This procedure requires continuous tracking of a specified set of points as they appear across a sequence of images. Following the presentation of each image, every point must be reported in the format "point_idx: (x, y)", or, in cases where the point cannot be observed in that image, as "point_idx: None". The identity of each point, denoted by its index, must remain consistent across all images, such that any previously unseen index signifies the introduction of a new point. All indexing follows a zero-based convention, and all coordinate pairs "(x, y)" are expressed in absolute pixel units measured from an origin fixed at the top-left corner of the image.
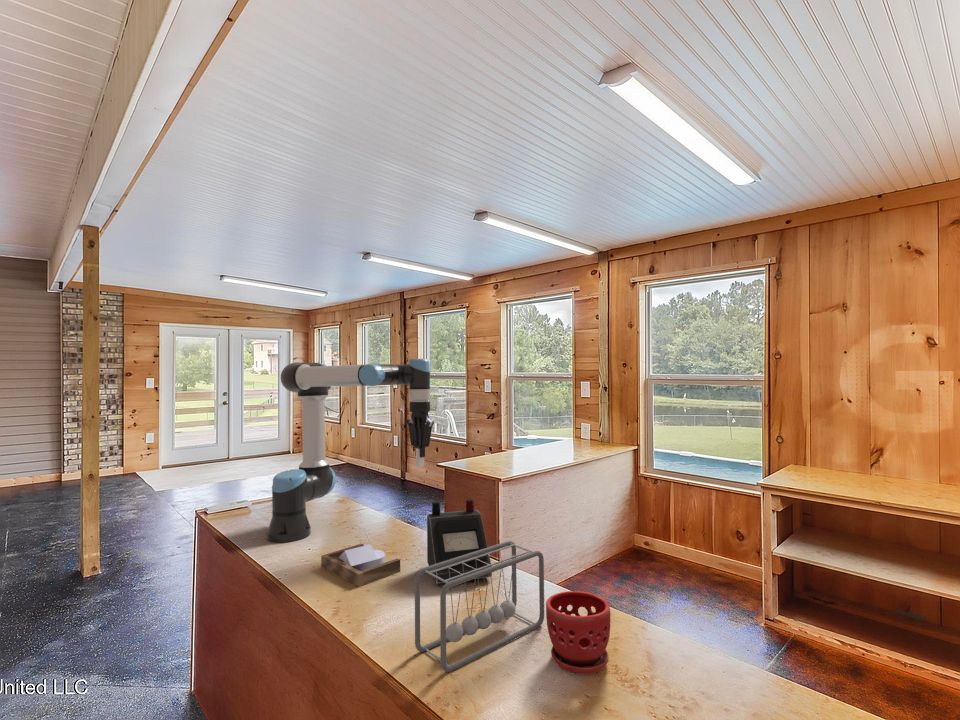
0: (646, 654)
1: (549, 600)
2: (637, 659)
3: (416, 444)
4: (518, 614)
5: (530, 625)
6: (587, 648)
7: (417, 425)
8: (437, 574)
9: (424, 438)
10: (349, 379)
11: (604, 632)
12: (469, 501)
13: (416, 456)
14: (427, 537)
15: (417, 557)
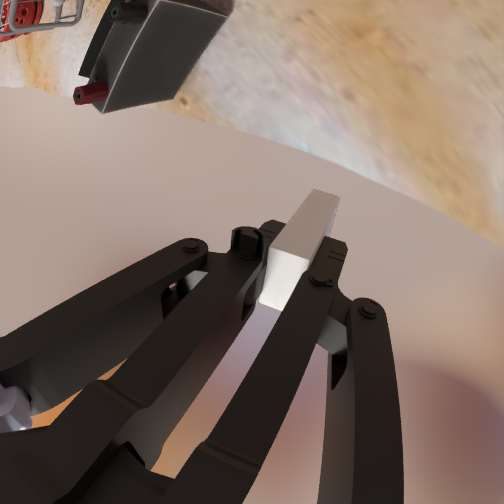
0: (19, 58)
1: (7, 5)
2: (20, 48)
3: (295, 289)
4: (70, 18)
5: (57, 13)
6: None
7: (145, 481)
8: None
9: (122, 278)
10: None
11: (2, 23)
12: (76, 88)
13: (320, 223)
14: (194, 6)
15: (284, 39)
